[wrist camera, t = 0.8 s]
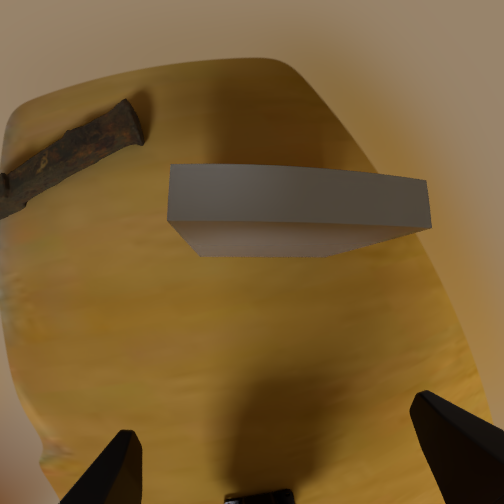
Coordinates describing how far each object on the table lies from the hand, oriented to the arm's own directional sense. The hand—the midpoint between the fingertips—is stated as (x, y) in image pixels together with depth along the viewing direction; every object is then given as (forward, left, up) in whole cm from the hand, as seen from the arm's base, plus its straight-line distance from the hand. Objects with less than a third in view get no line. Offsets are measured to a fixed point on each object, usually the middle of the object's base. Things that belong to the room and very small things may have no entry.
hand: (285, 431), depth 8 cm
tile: (+7, -3, -16) cm, 17 cm away
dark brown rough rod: (+16, +15, -16) cm, 27 cm away
